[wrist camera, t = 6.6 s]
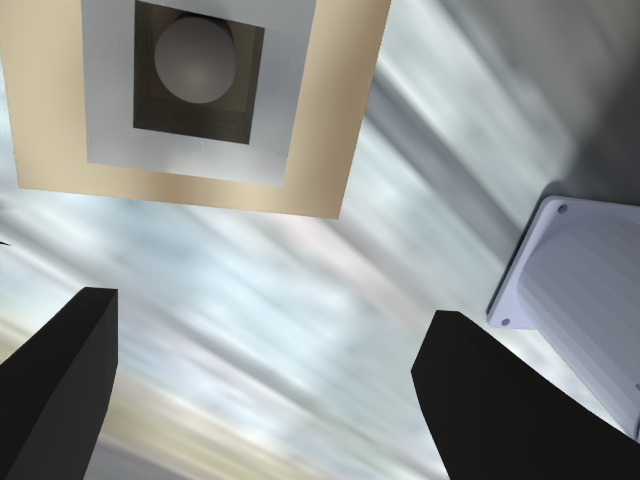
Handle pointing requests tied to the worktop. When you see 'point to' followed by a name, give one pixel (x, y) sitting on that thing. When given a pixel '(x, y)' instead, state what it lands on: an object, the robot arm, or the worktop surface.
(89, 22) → the collar
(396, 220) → the worktop surface
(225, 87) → the tan peg board
